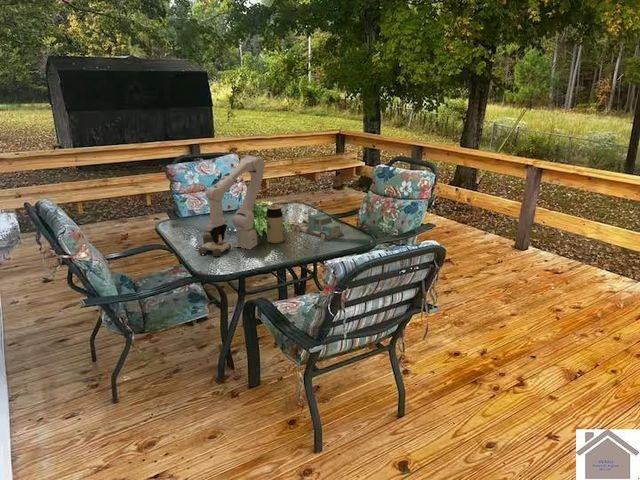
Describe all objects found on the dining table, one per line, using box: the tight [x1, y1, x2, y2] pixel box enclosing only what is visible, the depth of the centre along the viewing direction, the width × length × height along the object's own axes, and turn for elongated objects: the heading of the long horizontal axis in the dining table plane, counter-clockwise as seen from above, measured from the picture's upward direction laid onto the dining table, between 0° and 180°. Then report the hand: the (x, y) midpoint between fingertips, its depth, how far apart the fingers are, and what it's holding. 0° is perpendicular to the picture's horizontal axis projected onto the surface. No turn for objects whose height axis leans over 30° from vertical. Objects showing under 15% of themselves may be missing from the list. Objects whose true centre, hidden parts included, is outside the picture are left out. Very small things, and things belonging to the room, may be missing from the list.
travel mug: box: [265, 204, 284, 244], centre depth 236 cm, size 8×8×18 cm
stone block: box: [202, 229, 226, 245], centre depth 238 cm, size 9×14×5 cm, turn 5°
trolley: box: [194, 240, 232, 257], centre depth 223 cm, size 17×10×5 cm, turn 68°
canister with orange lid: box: [215, 233, 223, 246], centre depth 220 cm, size 3×3×6 cm
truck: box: [289, 206, 345, 241], centre depth 250 cm, size 12×29×15 cm, turn 46°
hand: (218, 241), depth 220 cm, fingers open, 4 cm apart
